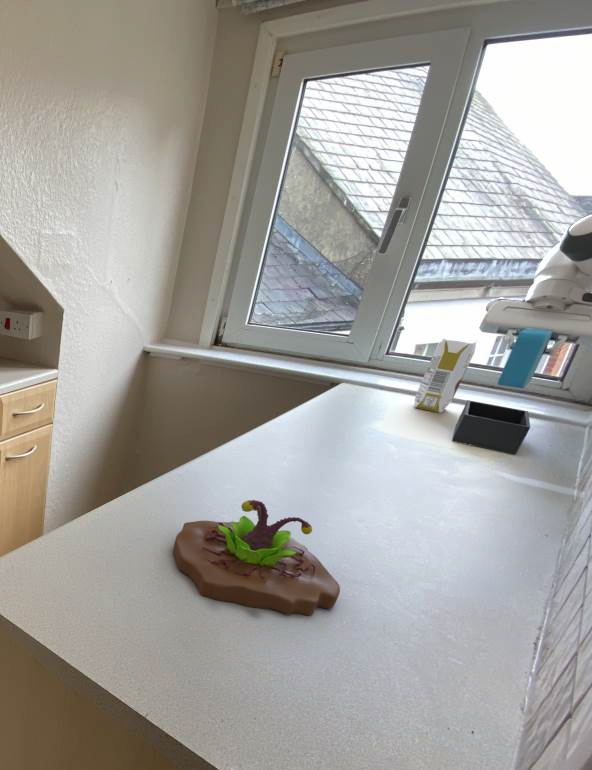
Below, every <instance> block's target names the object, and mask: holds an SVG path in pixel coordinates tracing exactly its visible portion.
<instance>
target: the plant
mask: <svg viewBox="0 0 592 770" xmlns="http://www.w3.org/2000/svg"><path fill="white" fill-rule="evenodd" d="M241 511H242V512H246V513H250V512H252V511H254V512H256V516H257V522H256V524H254V522H253V521H252V520H251V519H250V518H248V517H247V516H245V515H242V516H240V517H239V522H238V521H237V522H236V521H234V520H231V521H228V522H227V521H215V520H196V521H189V522H188V521H187V522H184V524H183V526H182V528H181V530H180V531H179V532H178V533H177V534H176V536H175V540H174V544H173V549H172V555H173V557H174V559H175V563H176V566H177V569H178V570H179V571H180V572H182V573H183V574H185V575H186V576H188V577H189V578H190V580H191V581H192V582H193V583H194V585H195V587H196V588H197V590H198V592H199V594H200V596H204V597H207V598H209V599H213V600H217V601H220V602H230V603H236V604H239V605H241V606H245V607H249V608H257V609H266V610H273V611H277V612H279V613H281V614H284V615H287V616H289V615H291V614H301V615H304V616H312V615H313V614H314V613H315V610H316V608H317V607H318V608H323V609H327V610H331V609H332V608H334V606H335V605H336V603H337V601H338V598H339V595H340V592H341V587H340V584H339V582H338V581H337V580H336V579H335V578H334V577H333V575H331V573H330V572H329V571H328V570H327V568H326V567H325V566H324V565H323V564H322V562H321V561H320V559H318V557H316V556H315V555H314V554H313V553H312V552H310V551H309V550H308V547H306V546H305V545H303V544H302V543H299V542H298V541H297V540H295V539H294V538H292V537H291V536H292V531H290V530H284V529H282V530H280V529H281V528H282V527H284V526H285V525H287V524H289V523H291V522H294V523H296V522H298V523H300V524H301V528H300V531H301V532H302V534H304V535H310V534H311V533H312V532H313V527H312V525H311V524H310V523H309V522H308V521H305V520H304V519H303V518H300V517H295V516H293V517H290V516H288V517H284V518H283V519H282V518H281V519H280V520H277V521H276V522H275V523H273V524H270V525H268V518H269V514H268V509H267V507H266V505H265V503H264V502H262V501H260V500H255V499H252V500H251V499H249V500H245V501H243V503H242V504H241Z"/></svg>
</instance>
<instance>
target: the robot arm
mask: <svg viewBox="0 0 592 770" xmlns="http://www.w3.org/2000/svg"><path fill="white" fill-rule="evenodd" d="M485 311H486V314H485V315H484V317H483V319H482V321H481V322H480V325H479V327H478V329H479V330H480V332H482V333H486V334H487V333H488V334H494V335H501V336H502V335H503V336H504V340H505V341H506V343H507V346H506V350H508V351H512V349H513V346H514V344H515V342H516V339H515V337H516V338H517V337H518V335H519V333H520V332H521V331H523V330H524V329H526V328H535V329H547V330H553V334H552V336H551V339H550V341H549V342H554V343H553V344H549V343H548V345H547V346H546V348H545V350H544V352H543V356H549V357H550V356H553V354H554V353H555V350H557V349H559V348H561V347H562V346H563V345H564V344H572V345H581V346H588V347H590V346H592V212H591V213H589V214H587V215H585V216H583V217H580V218H579V219H577V220H576V221H574V222H573V223H571V224H570V226H569V227H568V228H567V229H566V230H565V231H564V233H563V235H562V237H561V238H560V241H559V243H557V244H556V245H555V246H554V247H552V248H551V249H550V250H549V251H548V252H547V253H546V255H545V256H544V257H543V259H542V260H541V262H540V263H539V265H538V268H537V270H536V272H535V274H534V277H533V284H532V285H530V287H529V289H528V290H527V293H526V295H525V297H524V299H521V298H507V297H499V298H494V299H491V300H490V301H489V302H487V305H486V307H485Z"/></svg>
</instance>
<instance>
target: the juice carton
mask: <svg viewBox="0 0 592 770" xmlns="http://www.w3.org/2000/svg"><path fill="white" fill-rule="evenodd" d="M476 347H477V340H476V339H470V338H465V337H458V336H449V335H447V336H446V337H445V338H443V339H442V340H441V342H440V343H439V344H438V345H437V346H436V348H435V350H434V352H433V355H432V357H431V359H430V361H429V364H428V366H427V368H426V371H425V373H424V375H423V377H422V380H421V382H420V384H419V387H418V388H417V392H416V394H415V397H414V402H413V407H414V408H416V409H420V410H426V411H429V412H430V411H431V412H434V413H439V414H440V413H441V414H442V413H443V412H444V410H445V409H446V408H447V407H448V406H449V405H450V403H451V402H452V401H453V400H454V398H455V395H456V393H457V391H458V389H459V387H460V384H461V382H462V380H463V378H464V376H465V374H466V372H467V369H468V367H469V365H470V363H471V361H472V359H473V357H474V354H475V352H476Z"/></svg>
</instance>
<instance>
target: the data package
mask: <svg viewBox="0 0 592 770" xmlns="http://www.w3.org/2000/svg"><path fill="white" fill-rule="evenodd" d="M552 334H553V330H547V329H535V328H526V329H524V330H523V331H521V332H520V333H519V335H518V337H517V336H516V339H515V340H516V342H515V344H514V346H513V349H512V350H510V354H509V355H508V357H507V360H506V362H505V364H504V366H503V369H502V372H501V374H500V377H499V379H498V381H497V385H498V386H503V387H511V388H517V389H525V388H526V387H527V385H529V384H530V382H531V381H532V379H533V377H534V375H535V373H536V371H537V369H538V366H539V364H540V362H541V360H542V358H543V356H544V355H543V352H544V350H545V348H546V346H547V345H548V344H549V343H550V342H551V341H550V339H551V336H552Z"/></svg>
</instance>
